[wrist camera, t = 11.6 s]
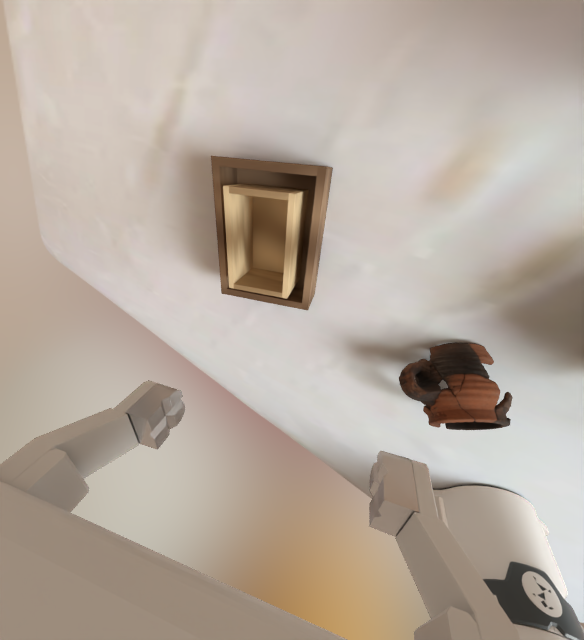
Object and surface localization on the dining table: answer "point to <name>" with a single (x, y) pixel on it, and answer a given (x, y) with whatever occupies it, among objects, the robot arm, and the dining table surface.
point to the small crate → (264, 237)
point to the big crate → (318, 186)
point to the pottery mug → (457, 388)
